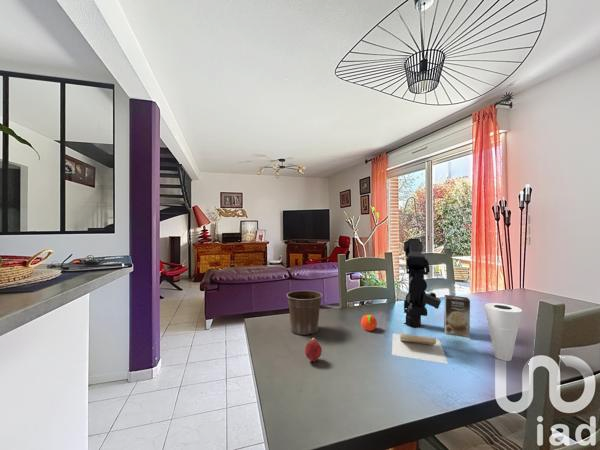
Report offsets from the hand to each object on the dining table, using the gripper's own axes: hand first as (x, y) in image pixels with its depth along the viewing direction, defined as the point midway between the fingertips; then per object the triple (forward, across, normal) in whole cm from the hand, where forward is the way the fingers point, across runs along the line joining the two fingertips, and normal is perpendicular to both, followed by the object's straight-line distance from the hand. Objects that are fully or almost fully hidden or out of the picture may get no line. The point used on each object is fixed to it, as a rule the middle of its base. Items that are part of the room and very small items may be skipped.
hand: (416, 326), depth 104 cm
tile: (+6, 0, 0) cm, 6 cm away
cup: (+7, 0, -28) cm, 29 cm away
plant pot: (+7, -2, +47) cm, 47 cm away
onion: (+8, -27, +35) cm, 44 cm away
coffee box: (+7, +16, -17) cm, 25 cm away
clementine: (+7, +7, +19) cm, 22 cm away
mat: (+7, -3, 0) cm, 8 cm away
